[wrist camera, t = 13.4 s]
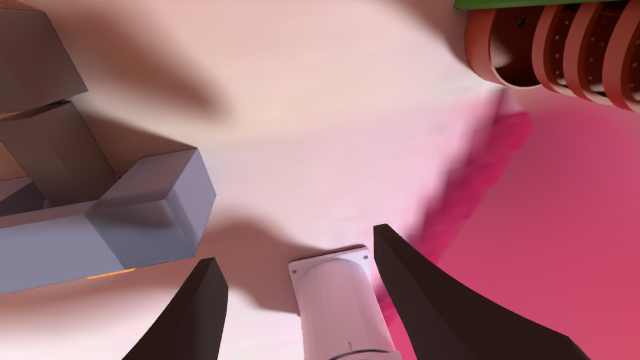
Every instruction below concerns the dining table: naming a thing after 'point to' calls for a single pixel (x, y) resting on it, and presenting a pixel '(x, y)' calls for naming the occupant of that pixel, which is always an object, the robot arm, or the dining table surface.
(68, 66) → the plug
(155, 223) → the housing
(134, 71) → the dining table surface
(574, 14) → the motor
